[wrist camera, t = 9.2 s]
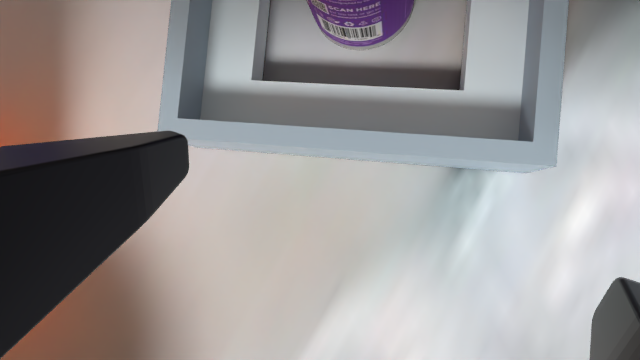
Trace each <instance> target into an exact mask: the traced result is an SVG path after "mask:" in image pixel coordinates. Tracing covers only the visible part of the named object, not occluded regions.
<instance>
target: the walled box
mask: <svg viewBox="0 0 640 360" xmlns="http://www.w3.org/2000/svg"><path fill="white" fill-rule="evenodd" d="M568 4H569V0H467V5H466V18H465V30H464V42H463V54H462V66H461V78H460V90H443V89H422V88H401V87H381V86H360V85H339V84H318V83H298V82H277V81H262V79H263V69H264V59H265V49H266V39H267V28H268V18H269V8H270V0H171V10H170V19H169V28H168V38H167V47H166V57H165V66H164V75H163V85H162V94H161V103H160V113H159V122H158V132H159V131H173V132H176V133H179V134H182V135H184V136H185V137H186V138H187V141H188V145H189V146H193V147H199V148H211V149H224V150H237V151H250V152H263V153H275V154H288V155H301V156H314V157H327V158H340V159H352V160H365V161H378V162H391V163H404V164H416V165H429V166H442V167H455V168H468V169H480V170H493V171H506V172H519V173H529V172H534V171H538V170H543V169H547V168H552V167H556V164H557V151H558V138H559V124H560V111H561V98H562V84H563V71H564V58H565V44H566V31H567V18H568Z"/></svg>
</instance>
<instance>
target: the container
mask: <svg viewBox="0 0 640 360" xmlns="http://www.w3.org/2000/svg"><path fill="white" fill-rule="evenodd" d="M307 3H308V5H309V7H310V9H311V12H312V14H313V16H314V18H315V21H316V22H317V24H318V26H319V28H320V30H321V31H322V32H323V34H324V35H325V36H326V37H327V38H328V39H329V40H331V41H332V42H334V43H335V44H337V45H339V46H341V47H344V48H347V49H352V50H367V49H372V48H376V47H379V46H381V45H384V44H385V43H387V42H389V41H390V40H392V39H393V38H394V37H396V36H397V35H398V34H399V33H400V32H401V31H402V29H403V28H404V27H405V25H406V24H407V22H408V20H409V18H410V16H411V13H412V10H413V5H414V0H307Z"/></svg>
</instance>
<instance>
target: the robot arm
mask: <svg viewBox="0 0 640 360" xmlns="http://www.w3.org/2000/svg"><path fill="white" fill-rule="evenodd" d="M188 170H189V155H188V141H187V138H186V137H185V136H184V135H182V134H179V133H176V132H173V131H159V132H148V133H138V134H127V135H117V136H106V137H96V138H85V139H75V140H64V141H54V142H44V143H33V144H23V145H12V146H2V147H0V359H1V358H2V357H3V356H4V355H5V354H6V353H7V352H8V351H9V350H10V349H11V348H12V347H13V346H14V345H16V344H17V343H18V342H19V341H20V340H21V339H22V338H23V337H24V336H25V335H26V334H27V333H28V332H29V331H30V330H32V329H33V328H34V327H35V326H36V325H37V324H38V323H39V322H40V321H41V320H42V319H43V318H44V317H45V316H46V315H47V314H49V313H50V312H51V311H52V310H53V309H54V308H55V307H56V306H57V305H58V304H59V303H60V302H61V301H62V300H63V299H65V298H66V297H67V296H68V295H69V294H70V293H71V292H72V291H73V290H74V289H75V288H76V287H77V286H78V285H79V284H81V283H82V282H83V281H84V280H85V279H86V278H87V277H88V276H89V275H90V274H91V273H92V272H93V271H94V270H95V269H96V268H98V267H99V266H100V265H101V264H102V263H103V262H104V261H105V260H106V259H107V258H108V257H109V256H110V255H111V254H112V253H114V252H115V251H116V250H117V249H118V248H119V247H120V246H121V245H122V244H123V243H124V242H125V241H126V240H127V239H128V238H130V237H131V236H132V235H133V234H134V233H135V232H136V231H137V230H138V229H139V228H140V227H141V226H142V225H143V224H144V223H145V222H146V221H147V220H148V219H149V218H150V217H151V216H152V215H153V214H154V213H155V211H156V210H157V209H158V208H159V207H160V206H161V204H162V203H163V202H164V201H165V200H166V199H167V198H168V196H169V195H170V194H171V193H172V192H173V191H174V190H175V188H176V187H177V186H178V185H179V184H180V183H181V181H182V180H183V179H184V178H185V177H186V175H187V173H188ZM590 360H640V283H639V282H636V281H633V280H630V279H627V278H623V277H619V278H617V279H615V280H614V281H613V283H612V284H611V286H610V287H609V289H608V290H607V292H606V294H605V295H604V297H603V299H602V300H601V302H600V304H599V305H598V307H597V309H596V310H595V313H594V315H593V319H592V328H591V345H590Z"/></svg>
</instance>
